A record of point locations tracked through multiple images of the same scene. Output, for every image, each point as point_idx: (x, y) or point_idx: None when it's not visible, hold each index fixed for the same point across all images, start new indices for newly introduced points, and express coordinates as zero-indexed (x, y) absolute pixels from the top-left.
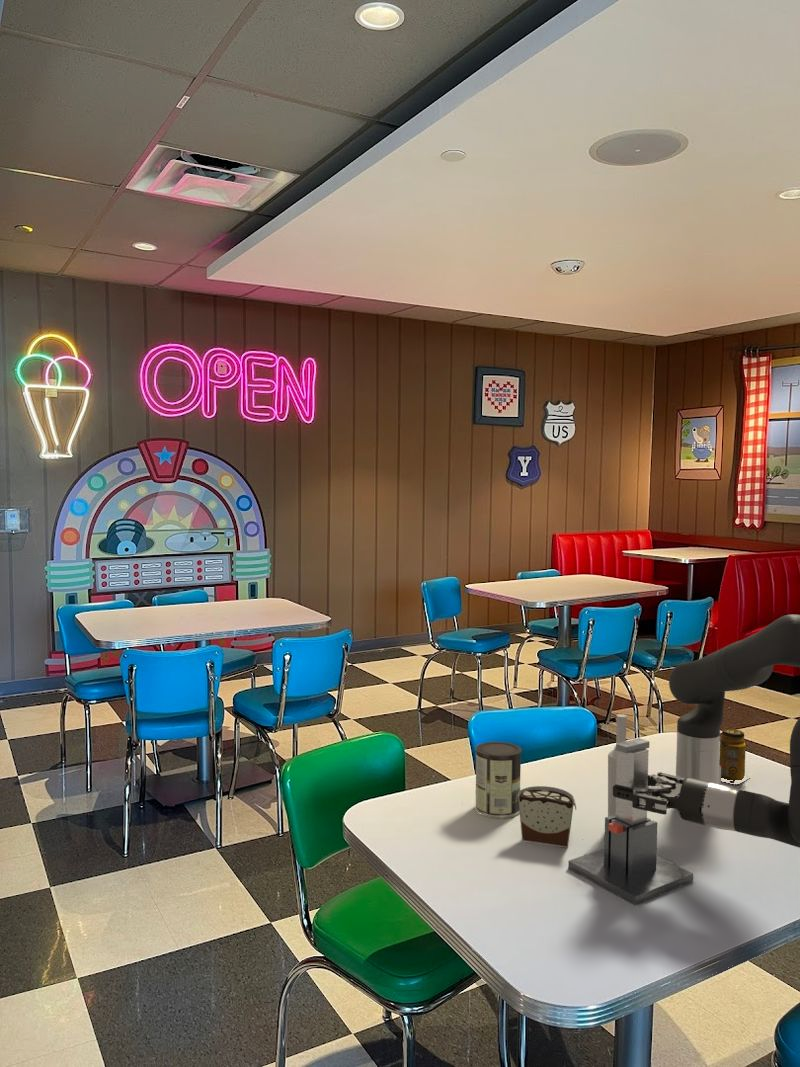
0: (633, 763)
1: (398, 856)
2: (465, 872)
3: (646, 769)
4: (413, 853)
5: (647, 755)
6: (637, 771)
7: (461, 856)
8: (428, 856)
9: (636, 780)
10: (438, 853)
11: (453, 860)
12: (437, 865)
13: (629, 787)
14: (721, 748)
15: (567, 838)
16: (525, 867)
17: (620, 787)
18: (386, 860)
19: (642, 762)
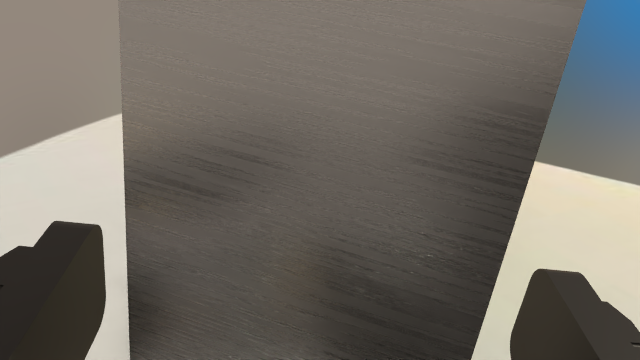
0: (120, 25)
1: (52, 158)
2: (6, 252)
3: (442, 283)
4: (80, 169)
5: (546, 9)
6: (206, 205)
7: (106, 226)
8: (76, 187)
9: (188, 321)
10: (101, 195)
11: (74, 221)
12: (30, 207)
13: (17, 327)
14: None
15: None
16: (103, 351)
17: (29, 267)
18: (24, 151)
19: (351, 104)
